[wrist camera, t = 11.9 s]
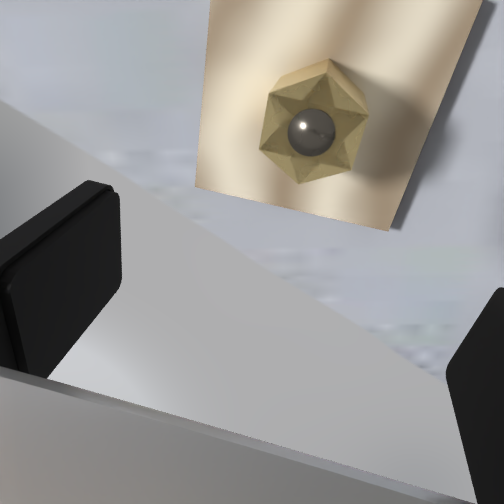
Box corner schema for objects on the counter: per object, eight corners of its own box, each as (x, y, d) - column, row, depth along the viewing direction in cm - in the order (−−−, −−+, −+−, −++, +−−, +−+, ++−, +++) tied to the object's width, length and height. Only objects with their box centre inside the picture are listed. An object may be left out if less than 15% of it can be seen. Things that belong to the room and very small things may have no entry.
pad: (478, -5, 21) (484, -5, 20) (386, 224, 29) (388, 231, 28) (219, -53, 22) (215, -55, 21) (199, 181, 30) (194, 186, 29)
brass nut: (372, 67, 23) (379, 84, 19) (343, 162, 26) (343, 195, 22) (286, 49, 23) (273, 61, 19) (268, 145, 26) (254, 175, 22)
